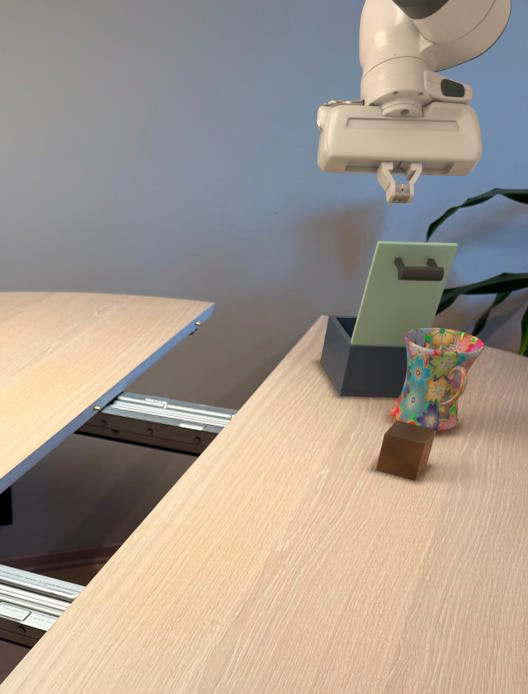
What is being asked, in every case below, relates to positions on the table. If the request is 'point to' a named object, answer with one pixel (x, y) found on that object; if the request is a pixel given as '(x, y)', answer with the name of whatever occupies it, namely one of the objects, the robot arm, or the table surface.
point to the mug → (435, 376)
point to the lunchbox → (361, 362)
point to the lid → (402, 290)
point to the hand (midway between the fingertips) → (400, 200)
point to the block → (405, 450)
